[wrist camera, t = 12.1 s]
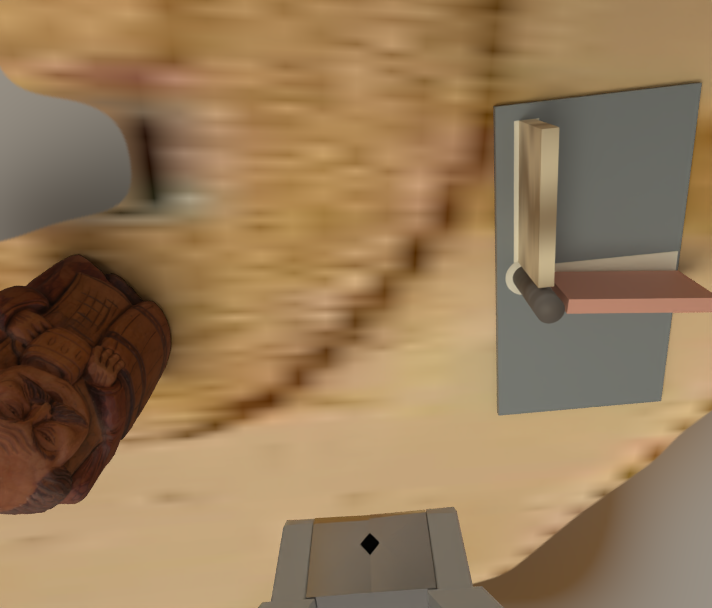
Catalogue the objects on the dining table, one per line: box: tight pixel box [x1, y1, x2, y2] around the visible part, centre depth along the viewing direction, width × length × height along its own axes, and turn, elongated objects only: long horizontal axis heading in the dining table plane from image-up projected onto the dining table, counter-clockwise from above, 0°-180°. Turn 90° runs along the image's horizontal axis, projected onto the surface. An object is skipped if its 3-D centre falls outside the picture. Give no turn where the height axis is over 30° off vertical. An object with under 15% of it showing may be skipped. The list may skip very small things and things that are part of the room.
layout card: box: [494, 83, 702, 415], centre depth 40 cm, size 24×13×1 cm, turn 6°
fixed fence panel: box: [513, 119, 565, 324], centre depth 36 cm, size 12×2×6 cm, turn 6°
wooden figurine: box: [0, 255, 171, 515], centre depth 34 cm, size 12×6×18 cm, turn 45°
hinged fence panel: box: [551, 270, 712, 314], centre depth 38 cm, size 10×1×5 cm, turn 91°
